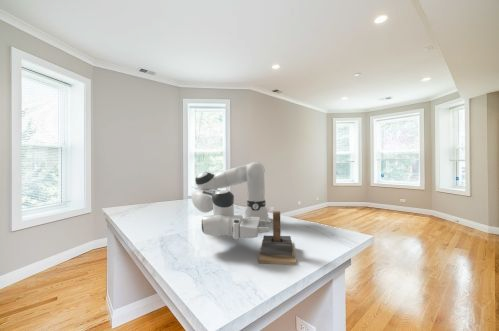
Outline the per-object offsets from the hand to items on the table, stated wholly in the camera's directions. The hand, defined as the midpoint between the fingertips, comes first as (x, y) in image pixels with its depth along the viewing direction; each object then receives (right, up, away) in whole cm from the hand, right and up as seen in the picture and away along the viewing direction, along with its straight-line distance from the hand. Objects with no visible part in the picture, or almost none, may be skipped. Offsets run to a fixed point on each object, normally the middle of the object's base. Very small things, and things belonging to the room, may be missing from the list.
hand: (269, 226), depth 99 cm
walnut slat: (+3, -10, 0) cm, 10 cm away
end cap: (+3, -11, 0) cm, 11 cm away
